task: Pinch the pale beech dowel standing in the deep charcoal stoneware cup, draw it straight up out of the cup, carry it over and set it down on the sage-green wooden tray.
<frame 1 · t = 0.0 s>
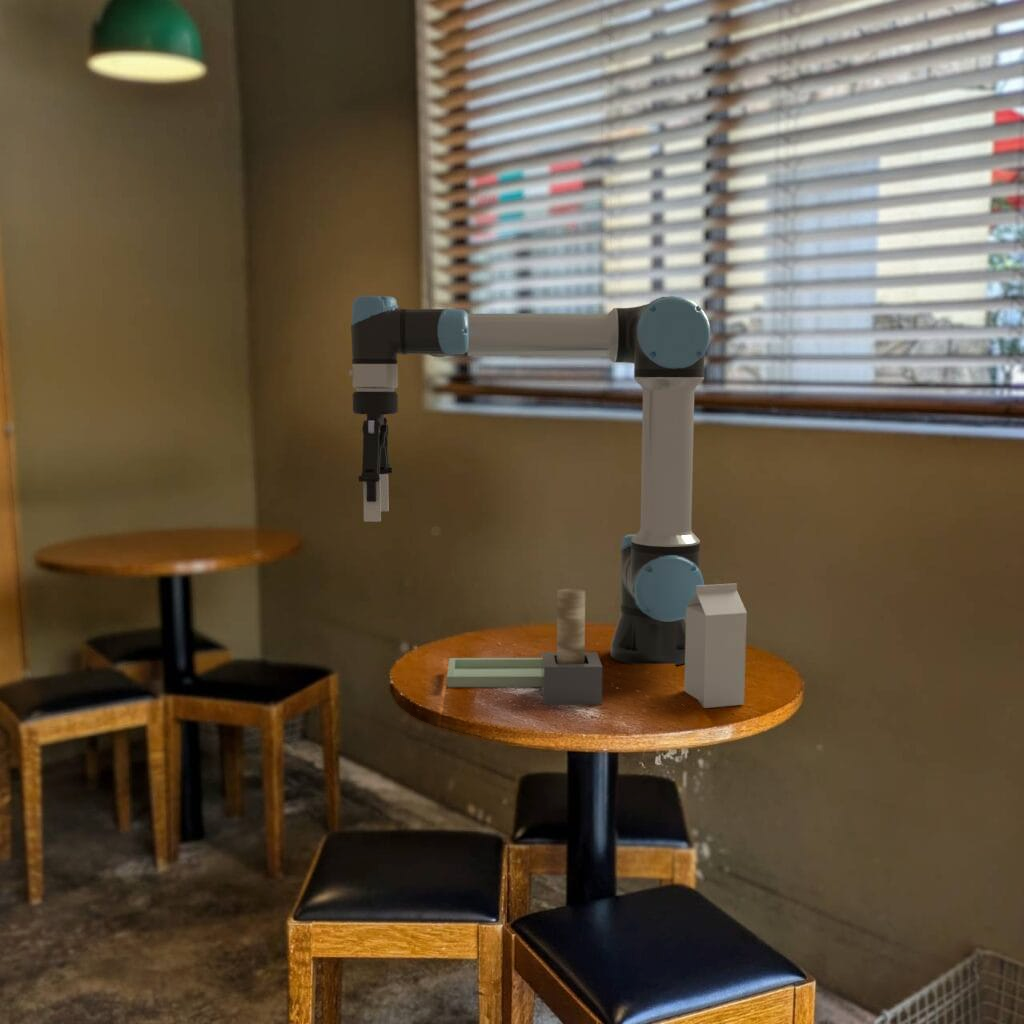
hand: (376, 516, 187), 28 cm above the table, fingers open, 13 cm apart
milk carton: (713, 702, 177), on the table
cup: (570, 702, 176), on the table
dowel: (570, 696, 176), point 1 cm above the table, touching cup
tray: (501, 682, 187), on the table
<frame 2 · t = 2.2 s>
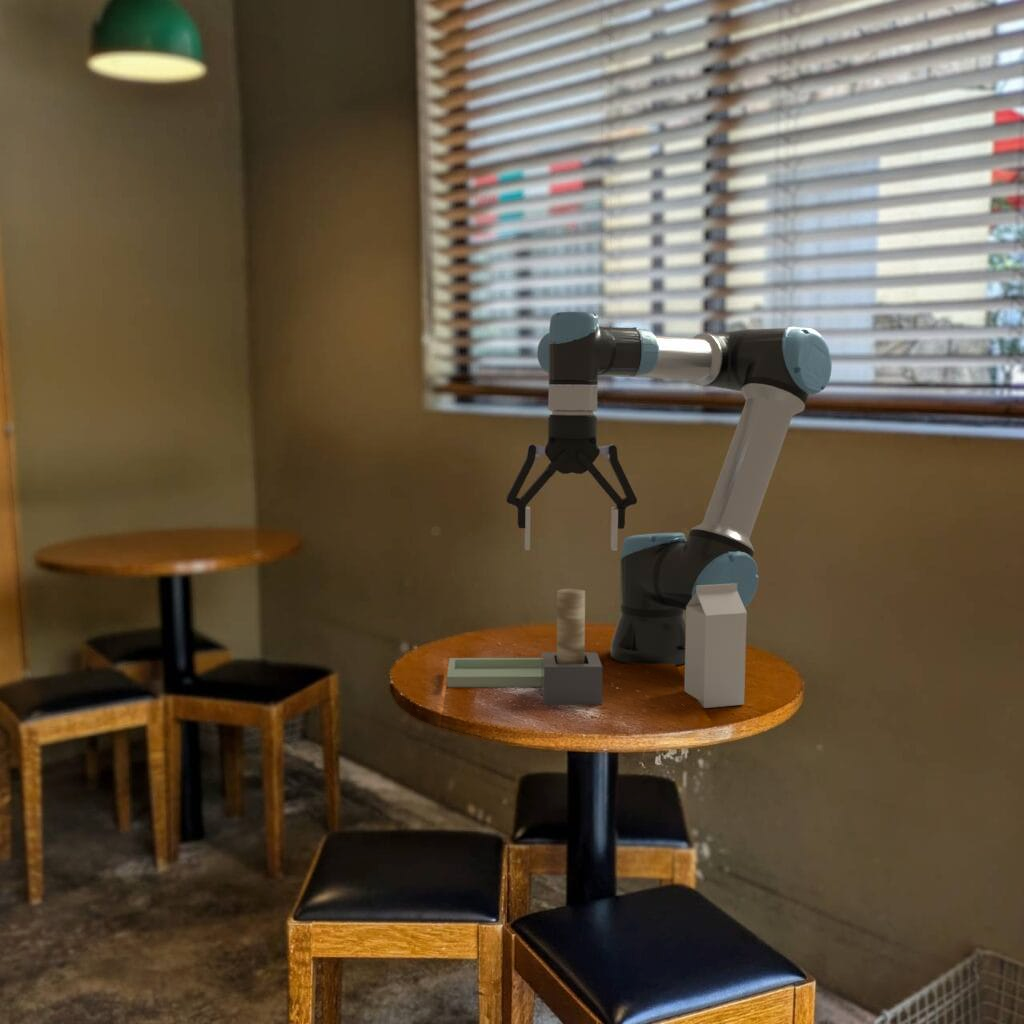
hand: (570, 549, 173), 25 cm above the table, fingers open, 13 cm apart
nothing on the table moved.
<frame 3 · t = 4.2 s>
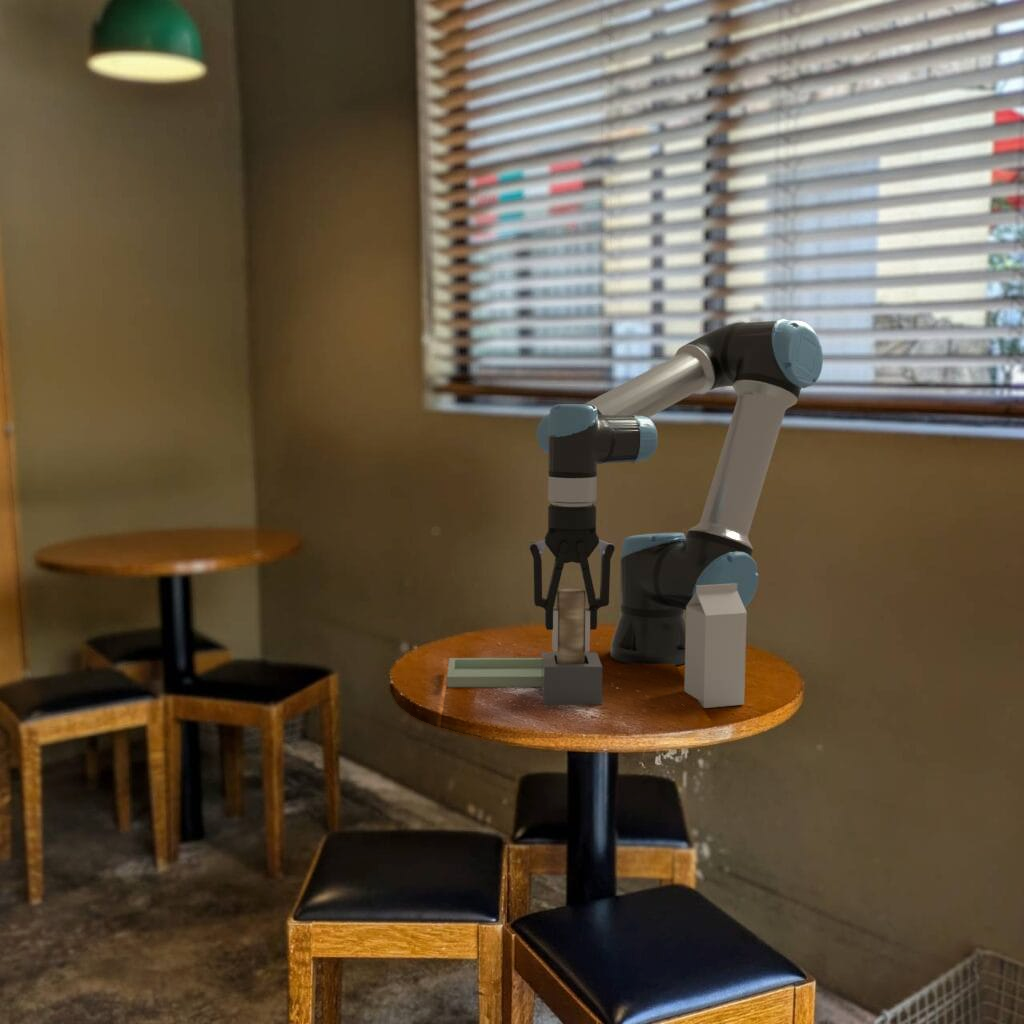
hand: (570, 649, 175), 9 cm above the table, fingers closed on dowel, 4 cm apart
dowel: (570, 696, 176), point 1 cm above the table, touching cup, gripper
everything else where it was.
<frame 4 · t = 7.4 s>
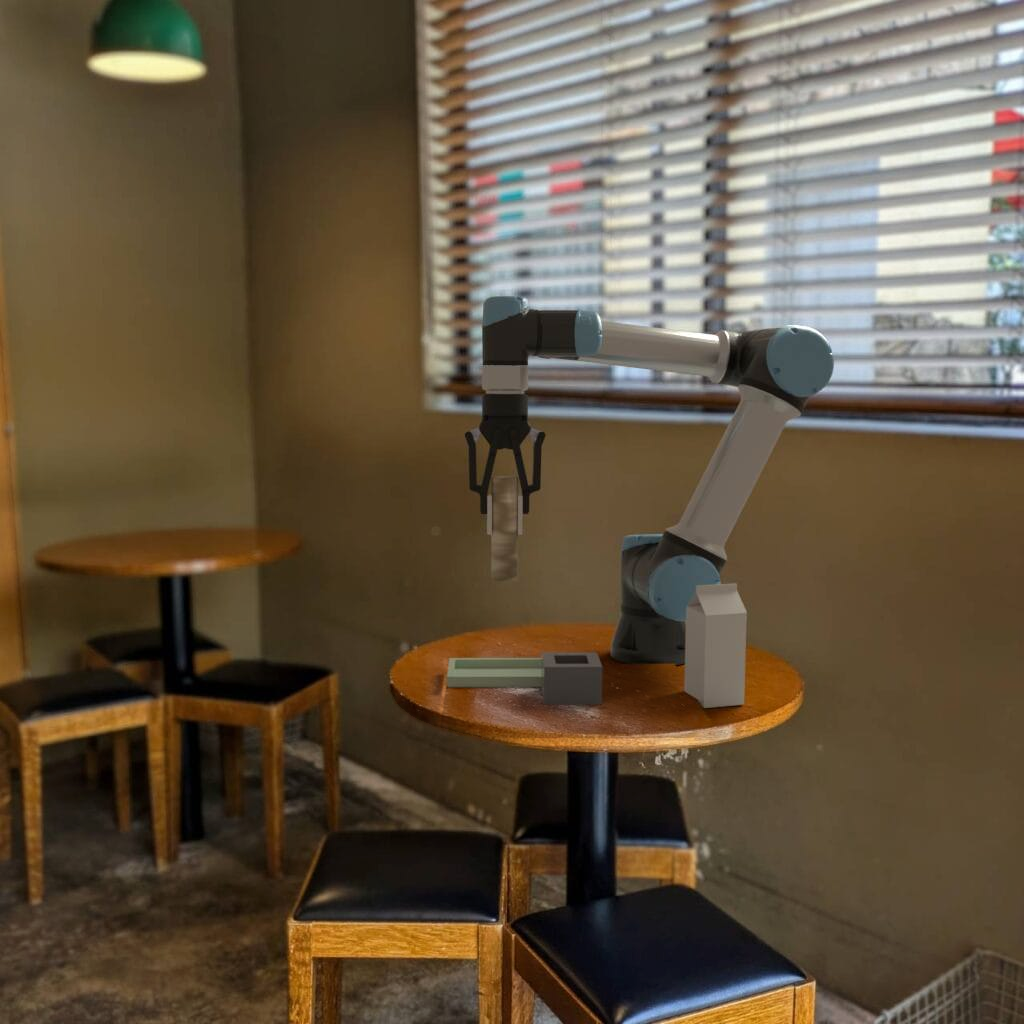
hand: (504, 533, 183), 26 cm above the table, fingers closed on dowel, 4 cm apart
dowel: (504, 578, 184), point 18 cm above the table, touching gripper
everything else where it was.
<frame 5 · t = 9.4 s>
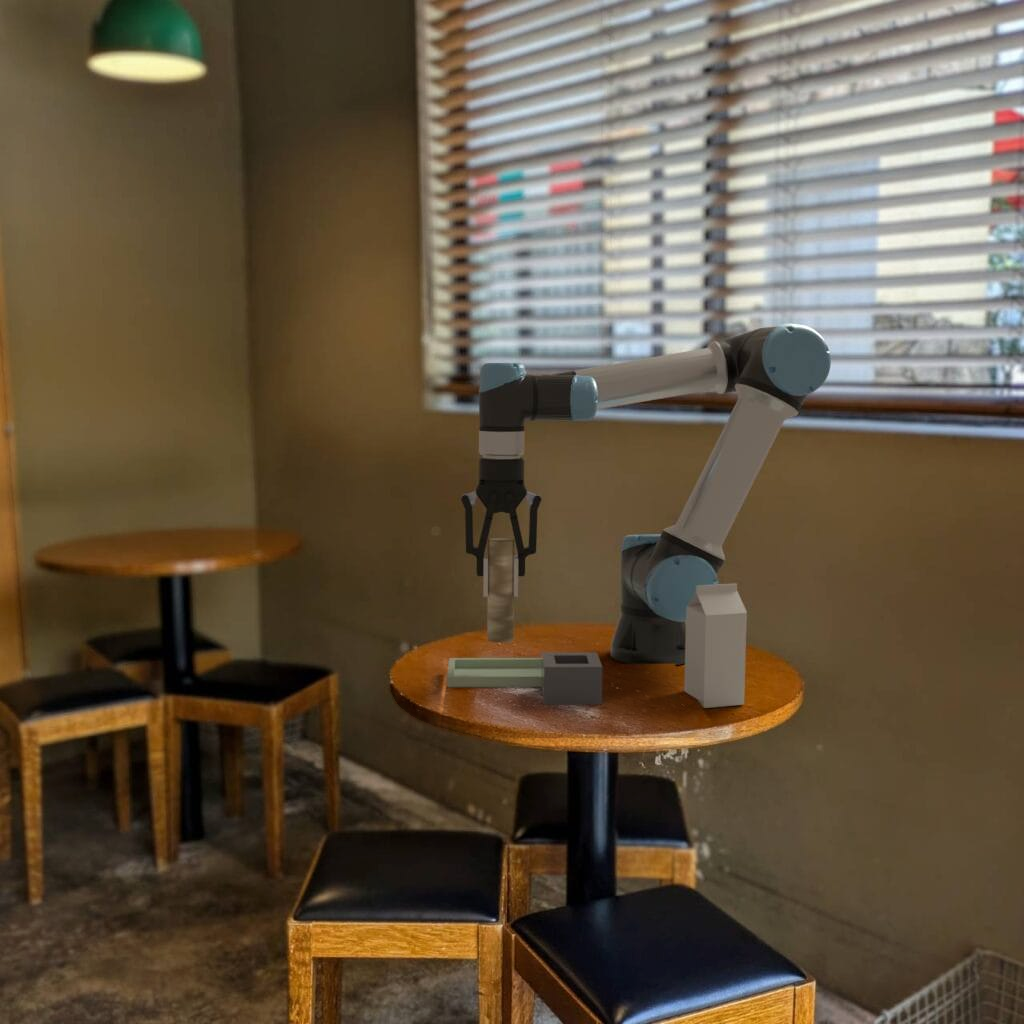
hand: (500, 595, 185), 15 cm above the table, fingers closed on dowel, 4 cm apart
dowel: (500, 639, 186), point 7 cm above the table, touching gripper
everything else where it was.
when the fingers open (10 cm above the table, at t = 10.8 s): dowel stays where it is, resting on tray.
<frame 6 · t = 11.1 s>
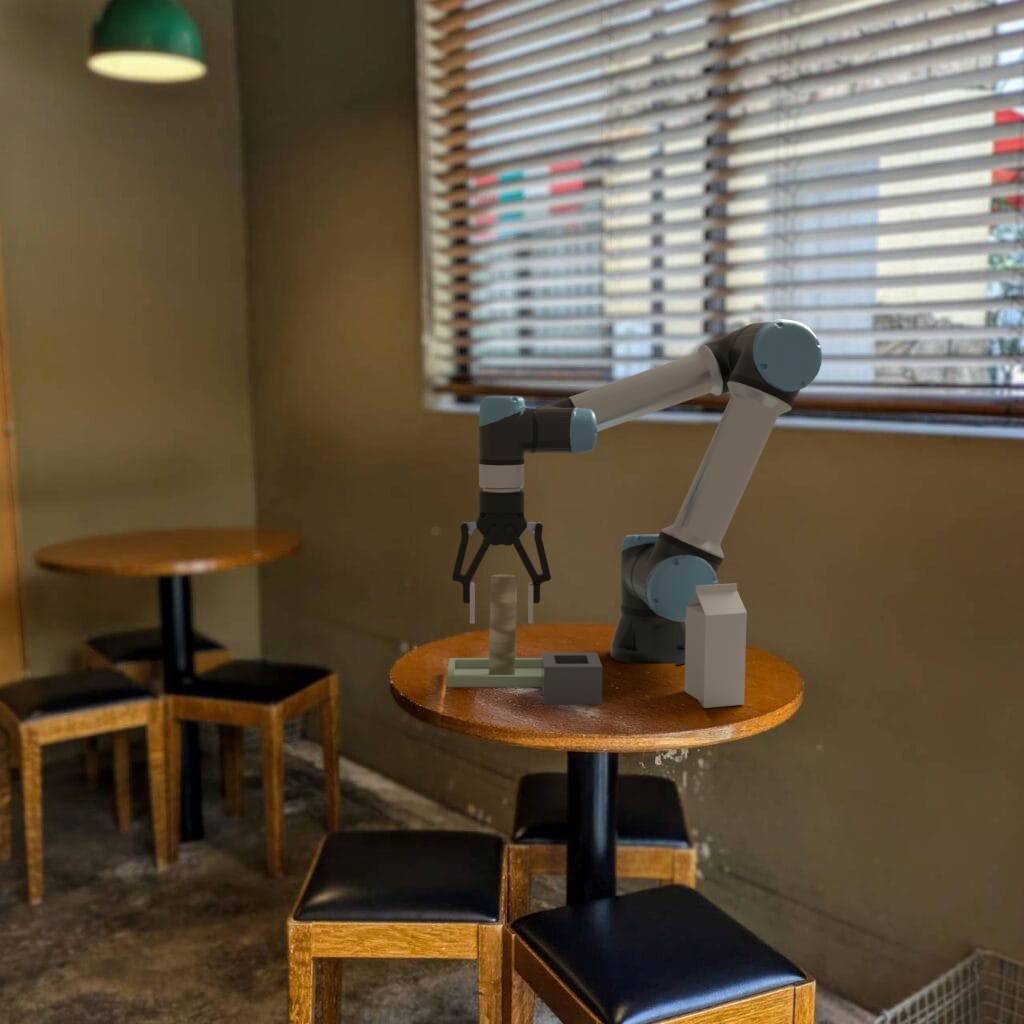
hand: (501, 621, 186), 11 cm above the table, fingers open, 9 cm apart
dowel: (501, 675, 187), point 1 cm above the table, touching tray
everything else where it was.
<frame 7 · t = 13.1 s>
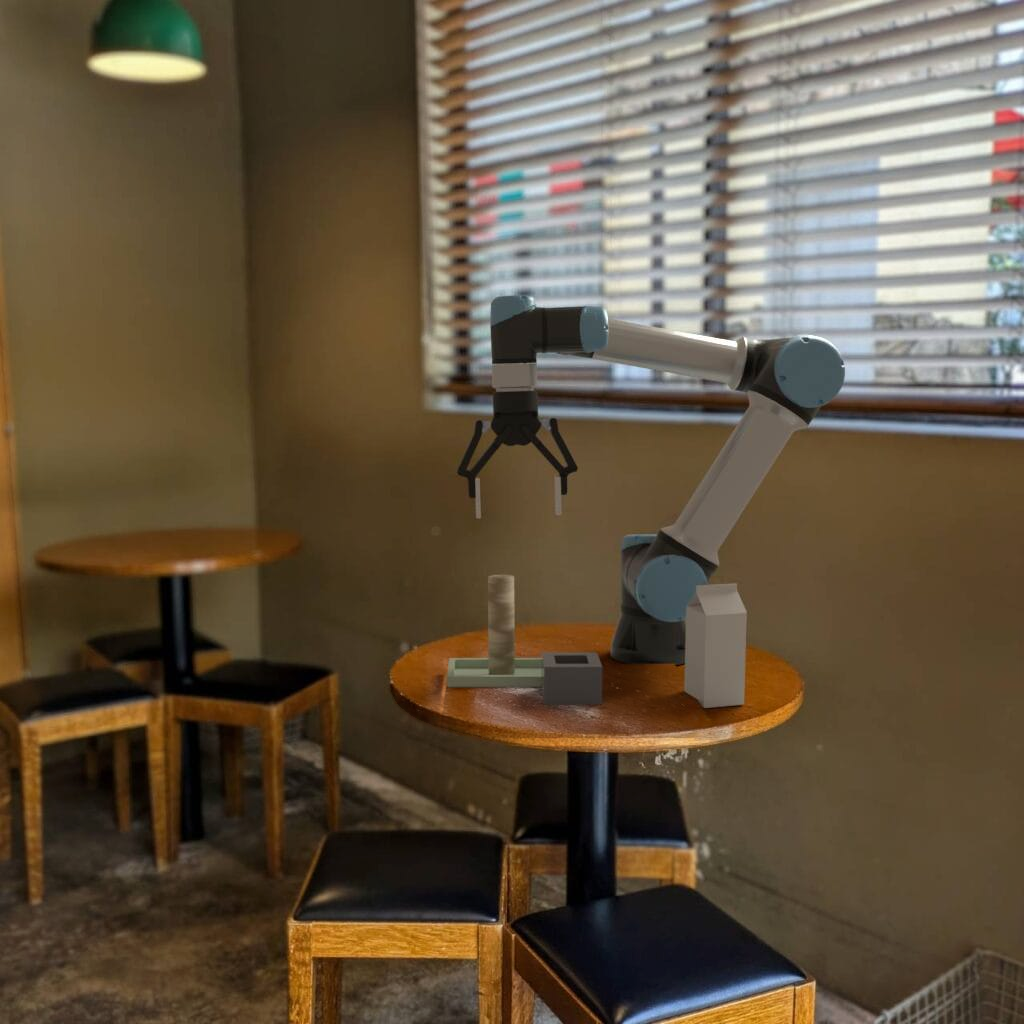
hand: (518, 516, 187), 28 cm above the table, fingers open, 13 cm apart
nothing on the table moved.
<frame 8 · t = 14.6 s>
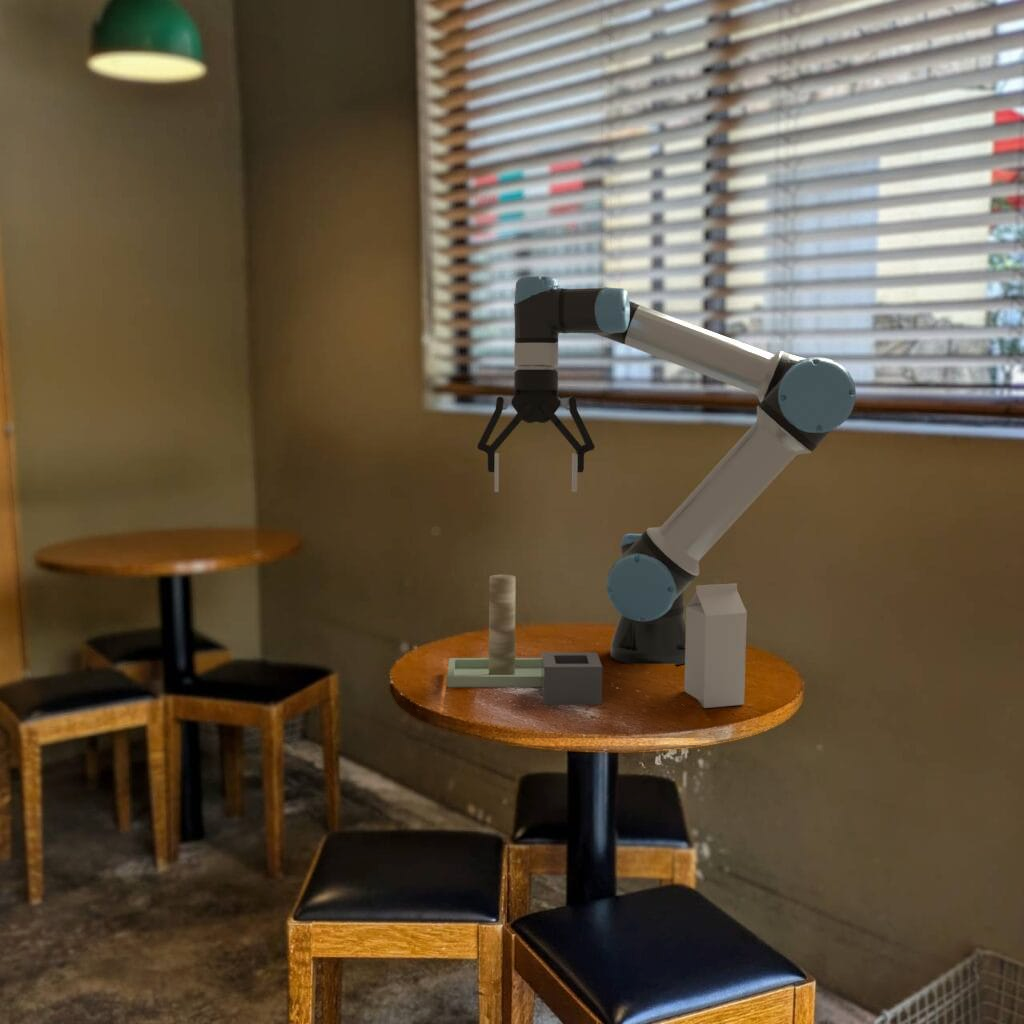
hand: (535, 491, 192), 32 cm above the table, fingers open, 13 cm apart
nothing on the table moved.
at the end: dowel inside the target area on the tray (0.1 cm from its centre), point 1.2 cm above the tray's base; the gripper is holding nothing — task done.
